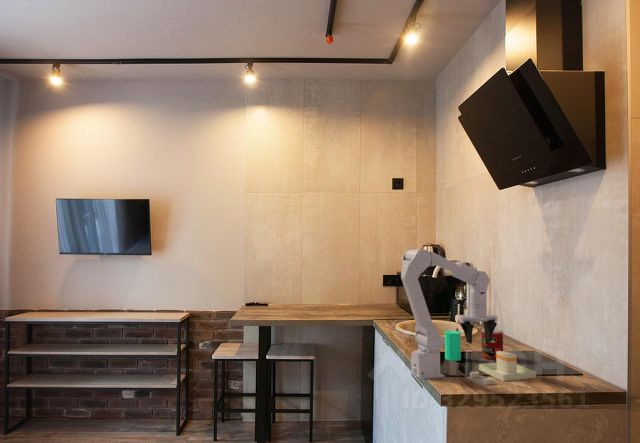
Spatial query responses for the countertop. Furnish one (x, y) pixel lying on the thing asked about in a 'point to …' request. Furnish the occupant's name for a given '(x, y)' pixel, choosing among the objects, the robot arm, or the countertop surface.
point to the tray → (521, 374)
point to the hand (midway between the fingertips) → (478, 342)
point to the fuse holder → (480, 379)
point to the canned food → (492, 344)
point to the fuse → (506, 362)
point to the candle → (453, 345)
